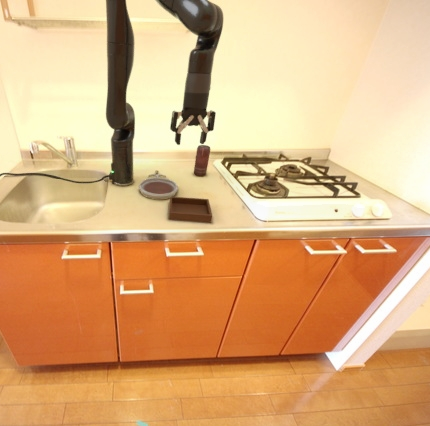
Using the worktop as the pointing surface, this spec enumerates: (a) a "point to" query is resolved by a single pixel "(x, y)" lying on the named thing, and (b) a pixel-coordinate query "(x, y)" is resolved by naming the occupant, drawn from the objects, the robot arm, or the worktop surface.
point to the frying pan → (158, 187)
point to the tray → (190, 209)
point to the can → (201, 160)
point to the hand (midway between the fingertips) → (189, 143)
